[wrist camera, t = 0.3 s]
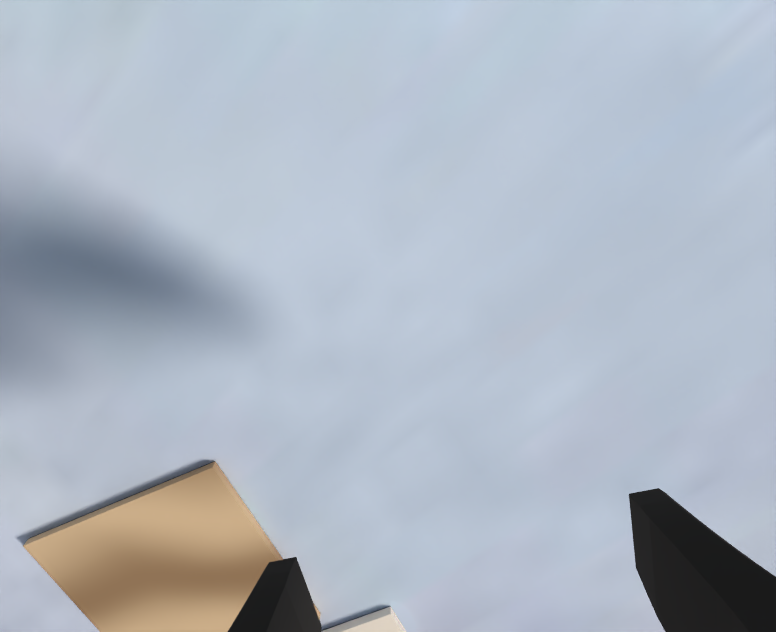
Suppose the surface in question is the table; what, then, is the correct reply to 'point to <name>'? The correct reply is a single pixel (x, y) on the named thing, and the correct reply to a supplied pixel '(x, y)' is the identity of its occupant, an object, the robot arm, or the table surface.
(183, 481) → the cork mat
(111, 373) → the table surface
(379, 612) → the card
